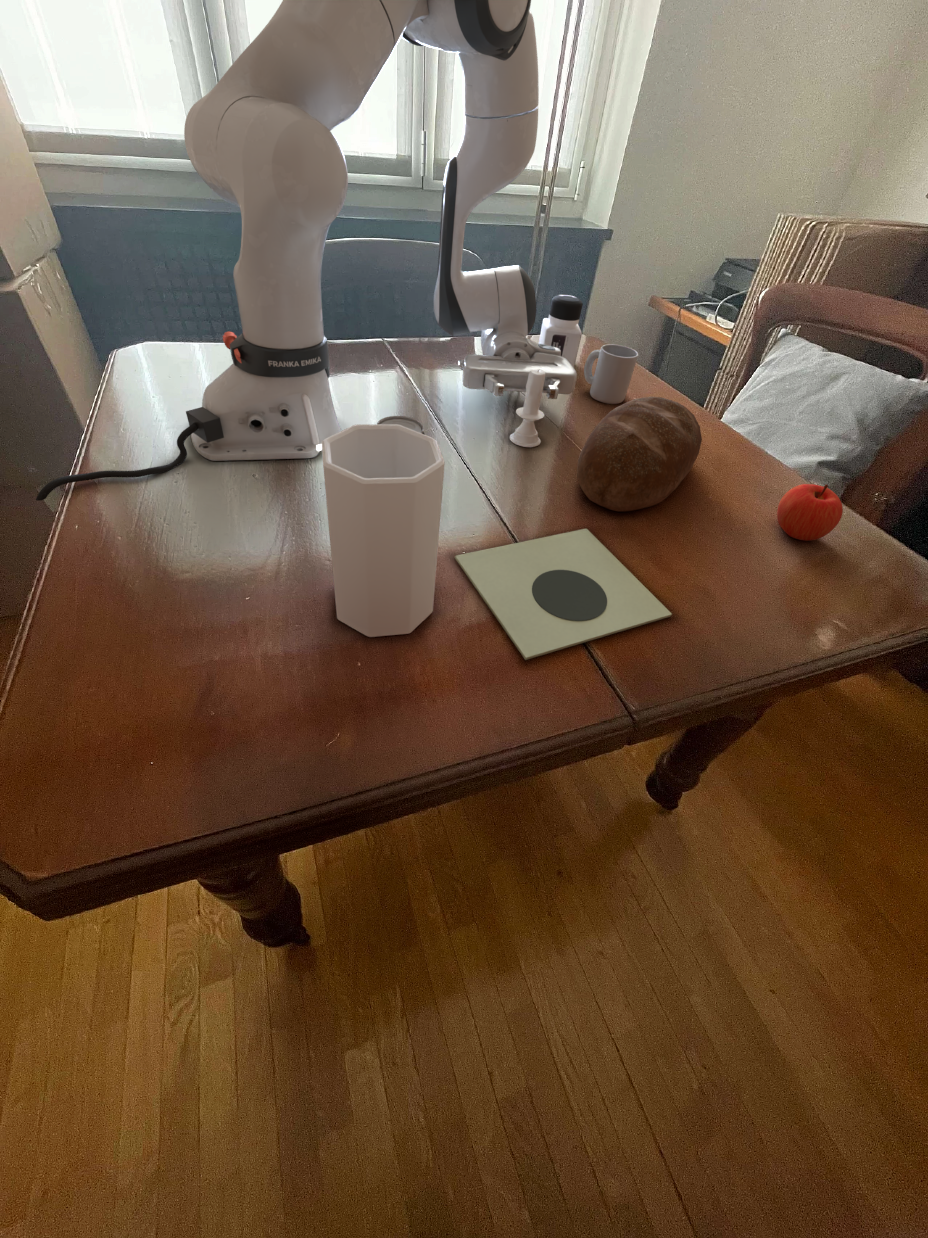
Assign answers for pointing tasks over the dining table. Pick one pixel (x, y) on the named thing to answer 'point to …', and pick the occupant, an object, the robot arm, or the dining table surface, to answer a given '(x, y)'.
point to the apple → (809, 511)
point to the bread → (639, 454)
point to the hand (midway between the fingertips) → (526, 393)
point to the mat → (559, 591)
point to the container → (563, 326)
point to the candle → (530, 411)
